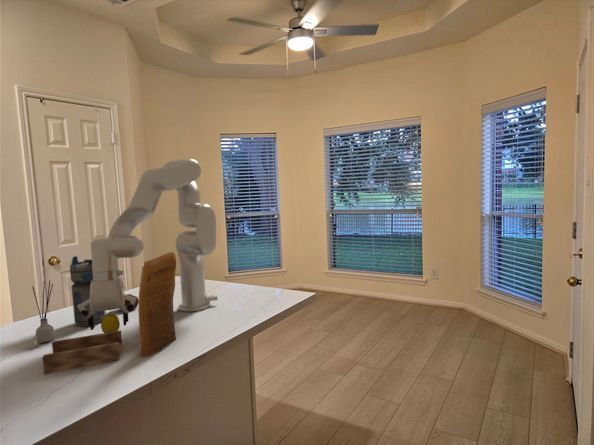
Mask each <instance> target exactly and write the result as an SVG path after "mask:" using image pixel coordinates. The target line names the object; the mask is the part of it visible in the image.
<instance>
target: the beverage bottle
mask: <svg viewBox="0 0 594 445" xmlns="http://www.w3.org/2000/svg"><path fill="white" fill-rule="evenodd" d="M69 273H70V274H69V275H70V281H71V282H72V283H73V284H72V285H71V298H72V308H73V319H74V323H75V324H76V326H79V327H80V326H81V327H87V326H88V318H87V317H86V316H84V315H83V314H82V313H81V311H80V310H79V309H78V308H77V306H78V305H79V304H80V303H82V302H84V301H86V300H87V299H89V298H90V285H91V281H92V280H93V270H92V259H84V260H83V261H79V259H78V256H77V255H76V256H72V260H71V263H70V265H69ZM84 308H85V309H86V310H87V311H89V312H90V303H89V304H87V305H85V306H84ZM105 315H107V314H106V311H98V312H94V314H93V316H94V325H96V324H99V323H100V324H101V322H102V319H103V317H104V316H105ZM88 327H89V326H88Z"/></svg>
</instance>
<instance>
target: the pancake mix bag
mask: <svg viewBox="0 0 594 445" xmlns="http://www.w3.org/2000/svg"><path fill="white" fill-rule="evenodd" d="M143 265H144V266H142V267H141V275H140V283H139V289H138V300H139V302H138V309H137V310H138V325H139V326H138V328H139V330H138V331H139V333H138V335H139V346H140V347H139V349H140V350H139V351H140V354H139V357H140V358H143V357H147V356H148V357H149V356H152V355H155V354H157V353H158V352H160V351H161V350H163V349H164V348H165V347H167V346H168V345H171V343H173V342H174V341H176V340H177V335H176V326H175V315H174V314H175V313H174V312H175V311H174V295H175V289H176V269H177V258H176V254H175V252H173V251H171V252H168V253H167V252H166V253H164V254H162V255H159V256H157V257H156V258H152V259H150V260H146V261H145V262H144V263H143Z"/></svg>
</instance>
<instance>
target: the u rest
mask: <svg viewBox="0 0 594 445" xmlns="http://www.w3.org/2000/svg"><path fill="white" fill-rule="evenodd" d="M122 335H123V334H122V330H118V331H115V332H108V333H104V332H102V333H97V334H91V335H85V336H79V337H78V336H77V337H72V338H66V339H60V340H54V341H52V342H51V350H52V353H47V354H43V355H42V356H41V357H42V368H43V375H47V374H52V373H58V372H62V371H63V372H64V371H69V370H73V369H79V368H85V367H91V366H95V365H101V364H105V363H110V362H116V361H120V359H121V354H122V350H123V349H122V348H123V336H122Z"/></svg>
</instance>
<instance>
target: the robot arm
mask: <svg viewBox="0 0 594 445" xmlns="http://www.w3.org/2000/svg"><path fill="white" fill-rule="evenodd" d="M201 174H202V167H201V165H200V163H199V162H198V161H197V160H195V159H193V158H184V159H175V160H171V161H168V162H166V163H164V165H163V167H155V168H149V169H147V170H145V171H144V172H143V173H142V175H141V178H140V180H139V182H138V183H137V184H138V185H137V186H136V189H135V191H134V193H133V195H132V198H131V201H130V202H129V205H128V206H127V207H126V208H125V209H124V211H122V213H120V215H119V216H118V217H117V219H115V221H114V223H113V225H112V226H111V229H110V231H109V233H108V236H107V237H103V238H102V237H101V238H95V239H92V240H91V242H90V251H91V260H92V270H93V280H92V281H91V285H90V298H89V299H87V300H86V301H84V302H82V303H80V304H79V305H78V306H77V308H78V309H79V310H80V311H81V313H82V314H83V315H84V316H86V317H87V318H88V328H90V331H93V330H94V329H95V325H96V324H94V316H93V314H94V312H98V311H105V312H107V311H113V310H120V311H122V312H123V313H122V321H123V323H122V324H123V326H127V323H129V312H130V311H132V310H131V309H132V307H133V306H134V304H135V302H136V298H134V297H131V296H128V295H127V294H126V293H125V289H124V283H123V278H122V277H121V276H122V275H124V270H120V269H119V260H118V259H120V258H121V259H132V258H136V257H138V256H140V255H141V254H142V252H143V250H144V242H143V241H142V240H141V238H139V237H137V236H135V235H131V234H132V233H133V231H134V230H135V229H136V227H137V226H138V225H139V224H141V223H142V222H143V221H145V220H147V219H148V218H150V217H151V216H153V215H154V214H155V212H156V208H157V206H158V203H159V201H160V198H161V197H162V194H163V192H168V191H173V190H176V192H177V199H178V202H177V203H178V222H179V224H180V225H181V226H182V227H185V228H191V229H193V228H194V229H195V230H185V231H182V232H180V233H179V234H178V235H177V237H176V239H175V248H176V252H177V257H178V264H179V276H180V290H181V291H180V293H181V303H180V304H179V305H178V306H177V307H178V308H177V309H178V310H179V311H180V312H198V311H202V310H205V309H208V308H209V307H210V306H211V302H212V301H213V302H214V301H218V296H217V295H213V294H212V295H207V294H206V283H205V282H206V279H205V265H204V264H205V263H204V260H203V257H202V256H204V257H205V256H210V255H211V254H213V252H214V251H215V250H216V247H217V217H216V213H215V210H214V208H213V207H212V206H210V205H209V204H206V203H201V197H200V196H201V195H200V194H201V192H200V188H199V186H198V184H197V183H196V181H197V180H198V179H199V178H200V176H201ZM125 299H126V300H129V301H131V303H130V305H129V306H128V307H126V306H125V305H124V304H125ZM89 303H90V312H89V311H87V310H86V309H85V308H84V306H85V305H87V304H89Z"/></svg>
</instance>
